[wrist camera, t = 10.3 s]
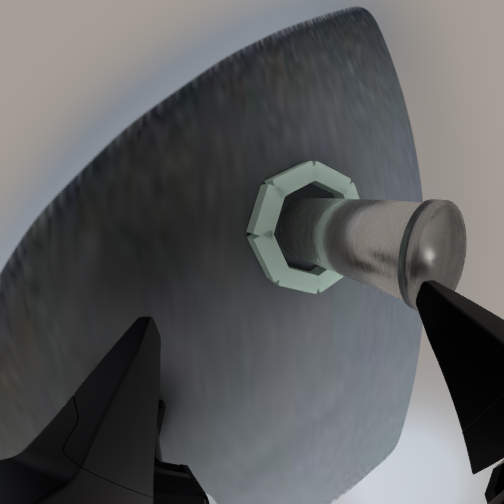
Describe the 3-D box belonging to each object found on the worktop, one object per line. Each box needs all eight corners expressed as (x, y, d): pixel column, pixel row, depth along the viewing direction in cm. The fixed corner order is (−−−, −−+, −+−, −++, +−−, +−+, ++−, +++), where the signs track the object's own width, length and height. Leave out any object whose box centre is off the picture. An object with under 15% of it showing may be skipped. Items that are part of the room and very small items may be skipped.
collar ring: (333, 294, 25) (343, 299, 23) (234, 271, 21) (239, 276, 20) (364, 192, 24) (375, 193, 23) (272, 147, 20) (281, 144, 19)
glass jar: (322, 266, 24) (448, 317, 12) (268, 252, 22) (396, 309, 10) (339, 207, 23) (472, 221, 11) (288, 186, 21) (428, 180, 9)
